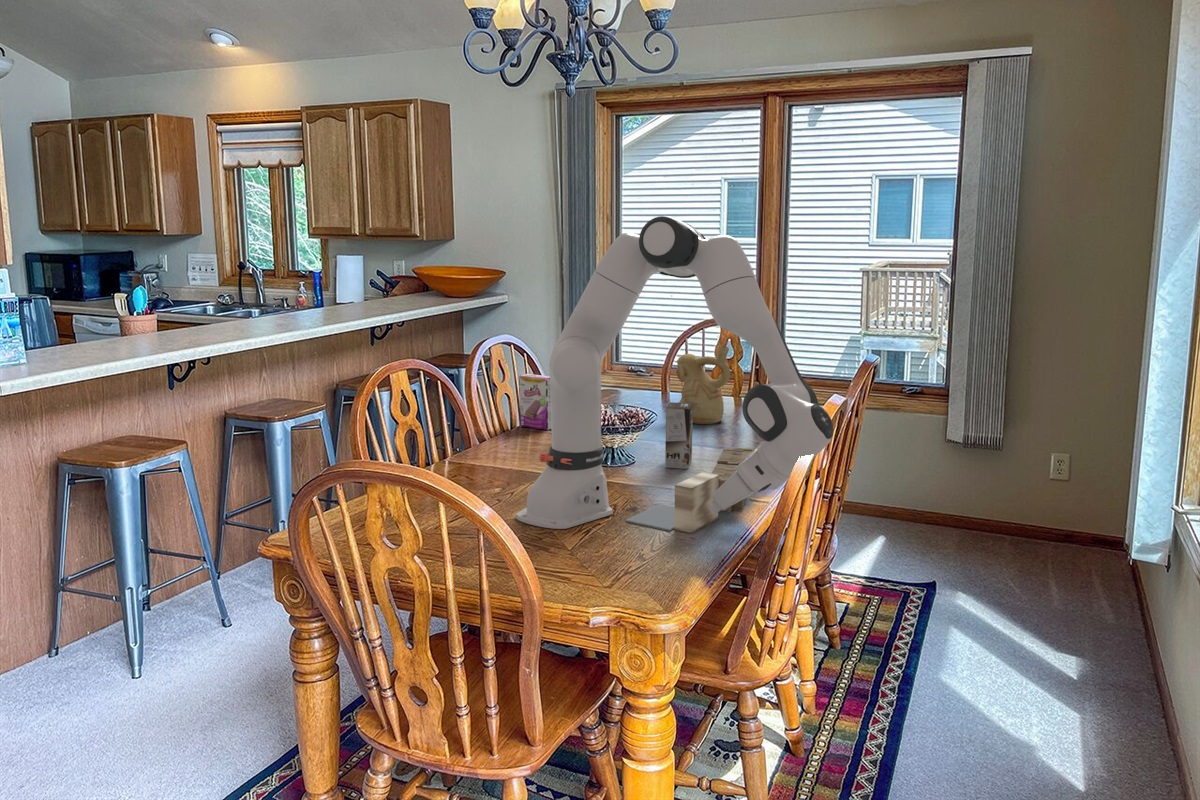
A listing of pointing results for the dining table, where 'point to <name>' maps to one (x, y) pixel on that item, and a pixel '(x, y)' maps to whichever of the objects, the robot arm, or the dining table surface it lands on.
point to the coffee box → (678, 435)
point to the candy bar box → (535, 401)
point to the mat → (656, 517)
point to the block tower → (731, 468)
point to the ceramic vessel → (703, 386)
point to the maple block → (695, 502)
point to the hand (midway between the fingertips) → (723, 505)
